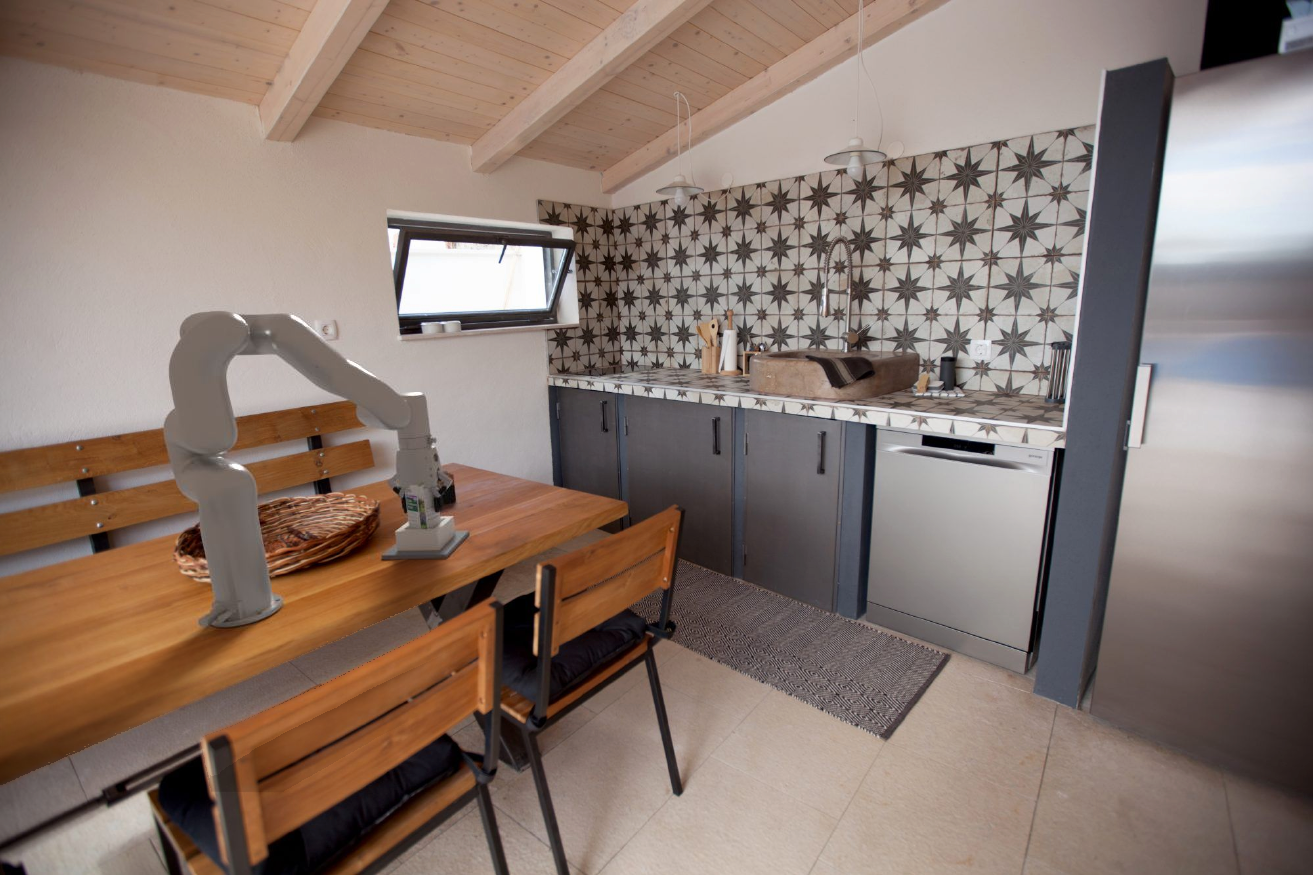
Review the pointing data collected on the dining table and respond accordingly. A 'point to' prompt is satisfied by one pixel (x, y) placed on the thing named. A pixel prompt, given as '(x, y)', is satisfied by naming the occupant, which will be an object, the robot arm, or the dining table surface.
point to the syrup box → (421, 507)
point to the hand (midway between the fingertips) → (423, 510)
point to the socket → (426, 541)
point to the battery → (449, 490)
